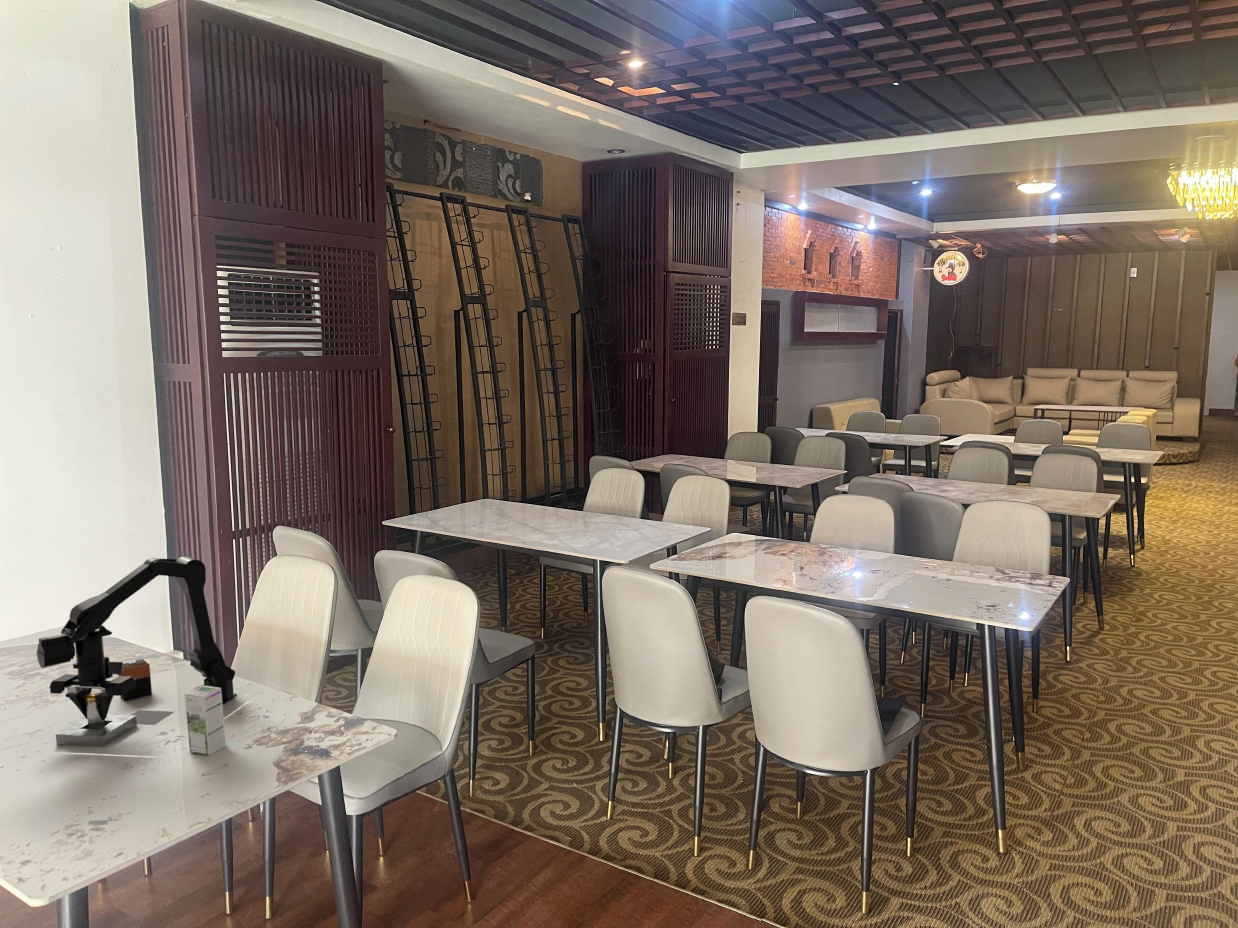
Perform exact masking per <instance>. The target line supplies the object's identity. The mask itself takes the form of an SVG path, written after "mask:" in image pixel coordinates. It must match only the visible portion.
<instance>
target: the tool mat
mask: <svg viewBox="0 0 1238 928" xmlns="http://www.w3.org/2000/svg"><path fill="white" fill-rule="evenodd" d="M173 713H174V711H169V710H167V711H166V710H165V711H163V710H142V709H139V710H137V711H135V712H133V713H132V714H130V715H134V716H136V720H137V725H149V726H151V725H152V726H153V725H154V726H155V725H156V724H158V723H160V722H162V720H164V719H166V718H167V717H169V716H170V715H172V714H173Z"/></svg>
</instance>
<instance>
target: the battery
mask: <svg viewBox="0 0 1238 928" xmlns="http://www.w3.org/2000/svg"><path fill="white" fill-rule="evenodd" d="M150 667H151V666H150V664H149V662H148V661H146V660H145V659H144V658H139V659H136V660H135V662H132V663H130V662H125V663H124V662H123V668H122V675H118V677H119V676H132V677H134V678H135V680H136V687H135V688H134V689H132V690H130V691H128V692H127V693H125V694H123V695H120V699H121V700H122V701H124V702H130V701H134V700H137V699H142V698H145V697H149V696H152V695H153V691H152V690H153V689H152V678H151V669H150Z"/></svg>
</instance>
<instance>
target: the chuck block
mask: <svg viewBox="0 0 1238 928" xmlns="http://www.w3.org/2000/svg"><path fill="white" fill-rule="evenodd" d="M105 723H106V726H104V727H102V728H101V729H88V719H86V718H85V717H84V718H82V719H80V720H78V721H77V722H75V723H73V724H71V725H69V726H67V727H66V728H64V729H63V730H61V731H59V732H57V733H56V734H55V741H56V746H66V747H67V746H69V747H70V746H71V747H89V748H90V747H91V748H104V747H106V746H108V745H109V744H111V743H113V742H115V740H117V739H119V738H120V737H122V736H123V735H125V734H126V733H128V732H129V731H131V730H133V729H135V728H137V726H138V724H137V720H136V716H134V715H131V714H129V715H128V714H110V713H109V714H108V713H107V717H106V719H105Z"/></svg>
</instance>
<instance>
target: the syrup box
mask: <svg viewBox="0 0 1238 928" xmlns="http://www.w3.org/2000/svg"><path fill="white" fill-rule="evenodd" d="M184 700H185V711H186V712H185V713H186V724H187V733H188V745H189V746H188V747H189V753H192V754H199V755H205V756H210V755H213V754H214V753H216V752H218V751H220V750H221V749H223V748H225V747H226V746H227V742H226V734H225V732H226V731H225V730H226V729H225V721H224V720H225V719H224V708H223V706H224V705H223V704H222V694H221V688H218V687H211V686H203V684H202V685H199V686H197V687H194V688H192V689H190V690H189V691H186V692H185V693H184Z"/></svg>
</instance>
